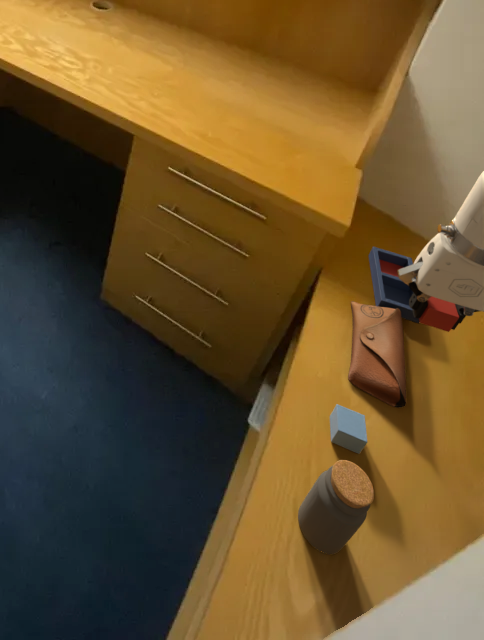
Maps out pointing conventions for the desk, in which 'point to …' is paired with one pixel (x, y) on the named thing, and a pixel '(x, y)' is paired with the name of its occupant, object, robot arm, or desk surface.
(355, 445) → the blue block
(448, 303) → the red block
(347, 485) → the bottle
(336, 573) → the desk surface
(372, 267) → the tray
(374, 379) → the sunglasses case
